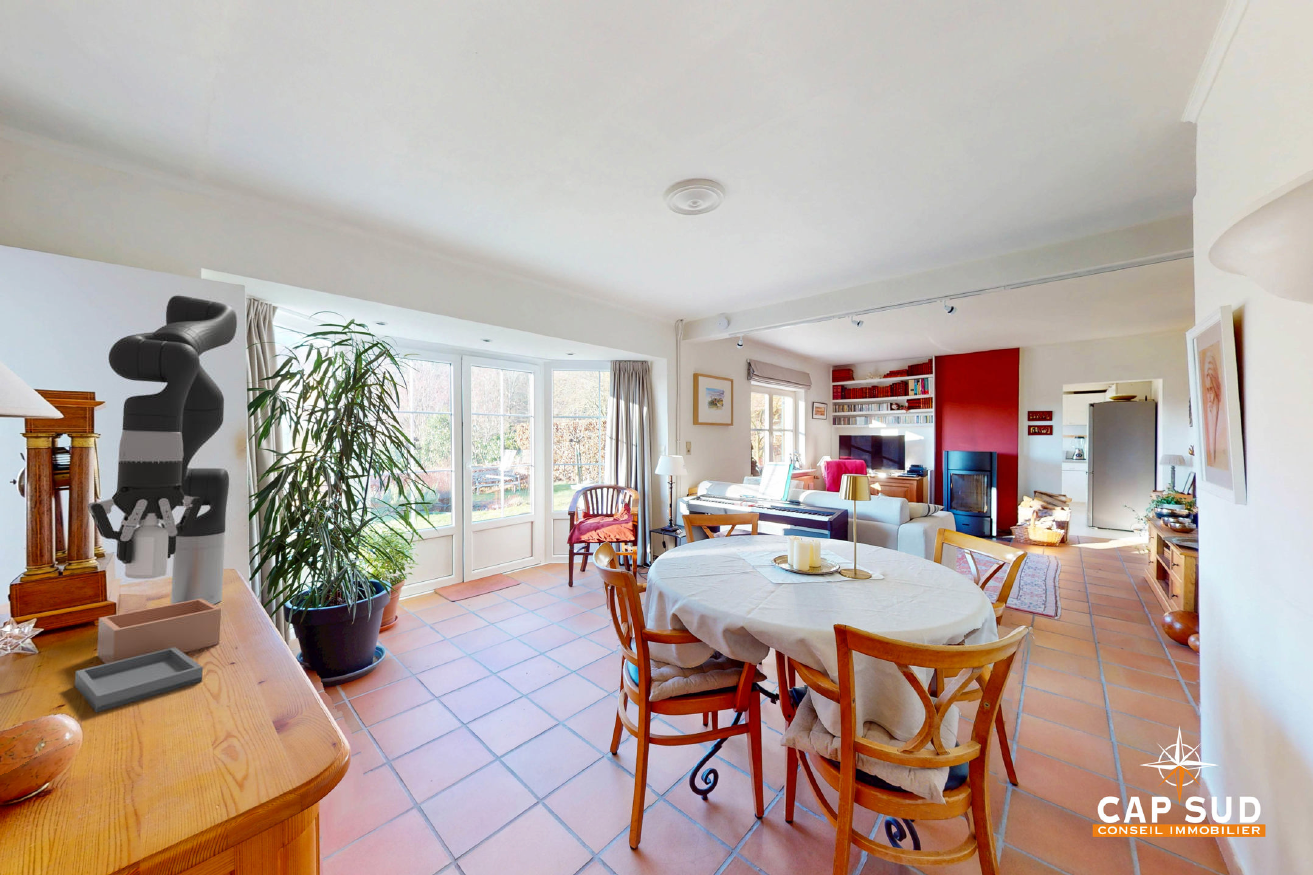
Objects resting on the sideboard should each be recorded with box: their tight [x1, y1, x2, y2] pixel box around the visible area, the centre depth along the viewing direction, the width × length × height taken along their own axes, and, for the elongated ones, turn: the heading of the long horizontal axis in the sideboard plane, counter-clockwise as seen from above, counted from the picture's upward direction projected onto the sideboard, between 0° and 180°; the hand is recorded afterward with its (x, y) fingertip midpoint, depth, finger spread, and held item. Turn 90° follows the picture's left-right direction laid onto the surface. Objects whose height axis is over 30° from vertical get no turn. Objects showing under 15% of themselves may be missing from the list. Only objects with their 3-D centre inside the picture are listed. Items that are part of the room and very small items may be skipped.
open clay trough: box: [96, 599, 222, 664], centre depth 95 cm, size 11×15×7 cm
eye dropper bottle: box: [124, 513, 169, 580], centre depth 83 cm, size 4×6×12 cm
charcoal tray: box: [74, 647, 204, 714], centre depth 82 cm, size 14×12×2 cm
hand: (146, 559), depth 82 cm, fingers closed on eye dropper bottle, 4 cm apart
